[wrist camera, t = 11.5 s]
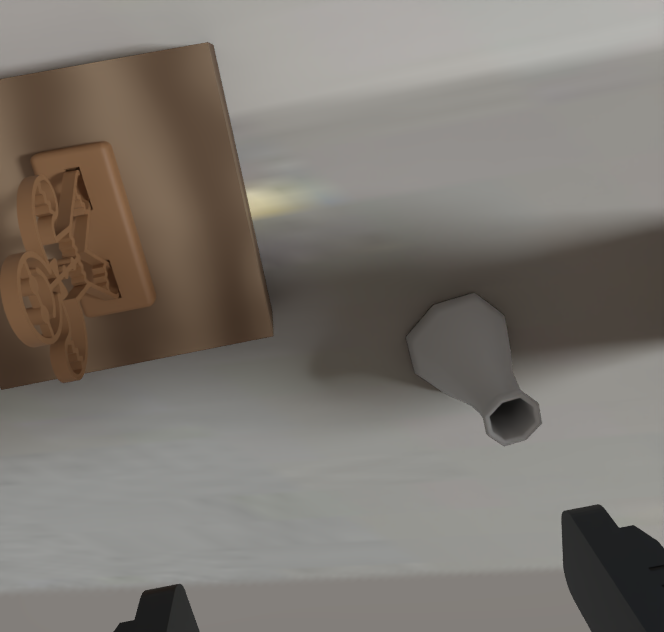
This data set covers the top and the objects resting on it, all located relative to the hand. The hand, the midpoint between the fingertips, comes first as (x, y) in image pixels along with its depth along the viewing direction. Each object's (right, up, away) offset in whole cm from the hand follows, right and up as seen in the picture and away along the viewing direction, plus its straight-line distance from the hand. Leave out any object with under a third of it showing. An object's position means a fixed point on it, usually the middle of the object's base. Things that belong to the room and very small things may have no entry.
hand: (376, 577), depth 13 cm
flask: (+8, +4, +30) cm, 31 cm away
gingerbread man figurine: (-13, +10, +20) cm, 26 cm away
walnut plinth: (-14, +11, +23) cm, 30 cm away
